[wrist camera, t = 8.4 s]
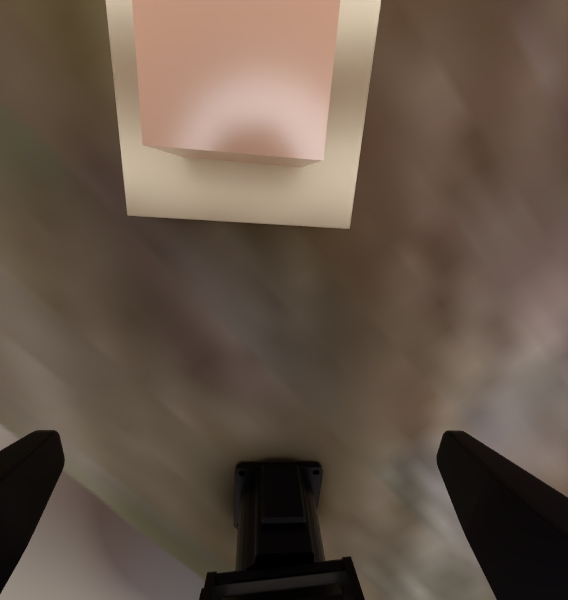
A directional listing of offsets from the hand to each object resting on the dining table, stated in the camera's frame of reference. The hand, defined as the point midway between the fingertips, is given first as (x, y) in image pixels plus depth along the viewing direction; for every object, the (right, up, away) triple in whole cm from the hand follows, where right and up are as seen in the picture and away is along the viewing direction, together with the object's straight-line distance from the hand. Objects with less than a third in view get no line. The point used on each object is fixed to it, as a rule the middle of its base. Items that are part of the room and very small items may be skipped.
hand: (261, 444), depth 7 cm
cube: (-1, +12, +5) cm, 13 cm away
